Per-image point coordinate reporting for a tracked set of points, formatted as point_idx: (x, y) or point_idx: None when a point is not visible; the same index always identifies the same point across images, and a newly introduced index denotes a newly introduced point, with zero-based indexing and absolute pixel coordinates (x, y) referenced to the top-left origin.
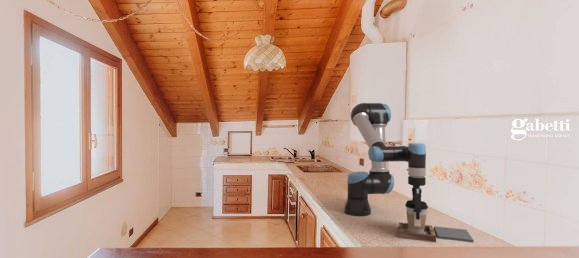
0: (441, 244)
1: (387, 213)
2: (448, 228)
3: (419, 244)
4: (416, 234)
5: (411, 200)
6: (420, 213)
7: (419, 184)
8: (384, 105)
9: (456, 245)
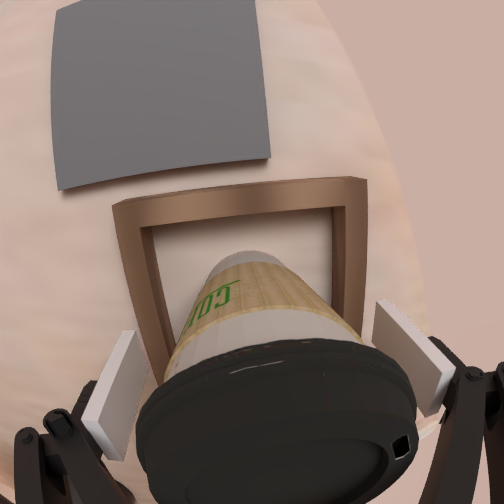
0: (373, 148)
1: (8, 407)
2: (65, 97)
3: (407, 265)
4: (363, 298)
5: None
6: (447, 362)
7: None
8: None
9: (352, 67)
